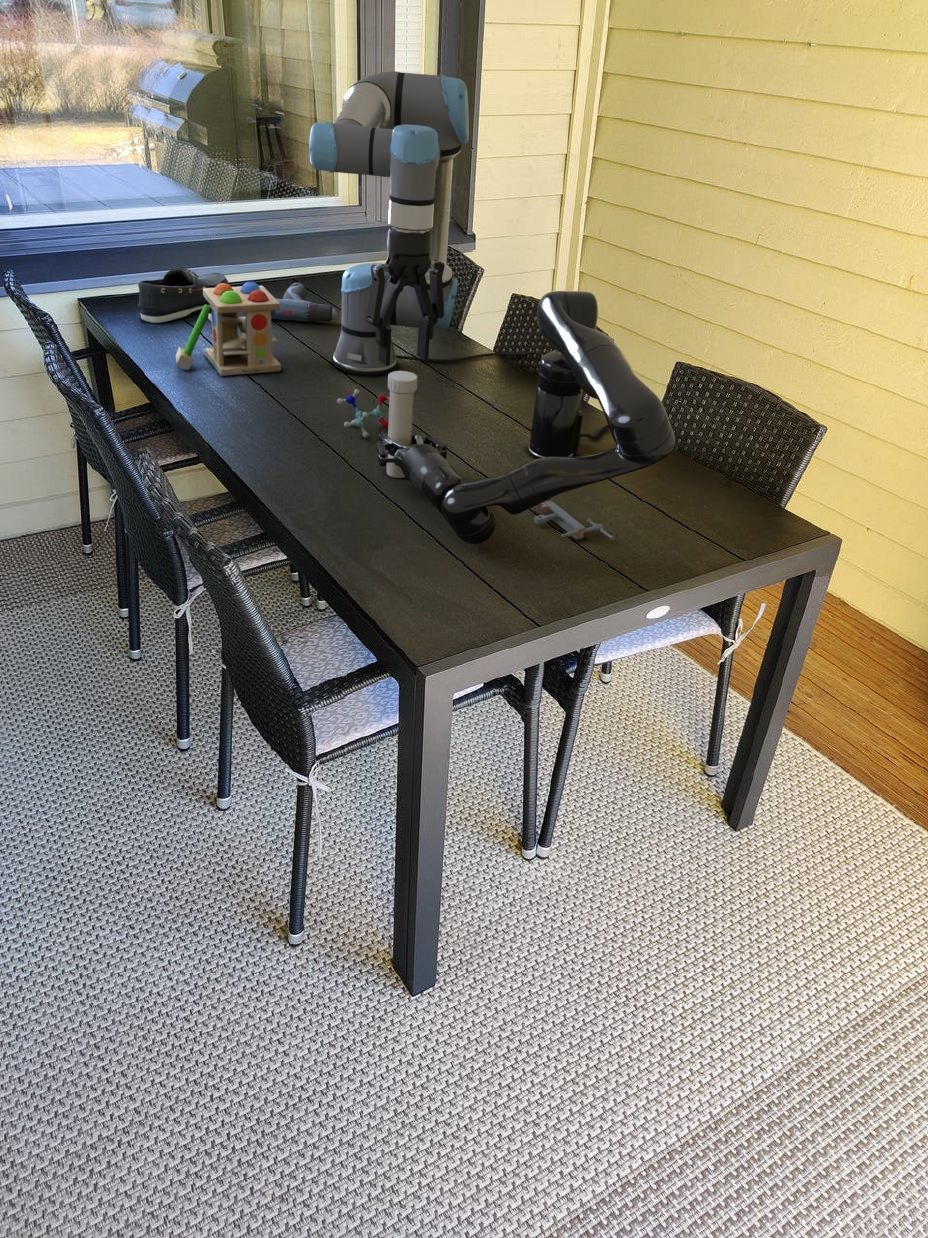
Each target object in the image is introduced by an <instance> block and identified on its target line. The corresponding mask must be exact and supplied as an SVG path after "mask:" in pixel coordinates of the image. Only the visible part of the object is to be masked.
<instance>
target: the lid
mask: <svg viewBox="0 0 928 1238" xmlns="http://www.w3.org/2000/svg"><path fill="white" fill-rule="evenodd" d="M387 389H388V390H389V391H390V390H391V391H393V392H396V393H412V392H414V393H415V392H416V391H417V389H418V375H417V374H416V373H414V372H410V371H406V370H393V371H391V372H389V373H388V376H387Z"/></svg>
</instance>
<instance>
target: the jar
mask: <svg viewBox="0 0 928 1238" xmlns="http://www.w3.org/2000/svg"><path fill="white" fill-rule="evenodd" d="M414 401H415V391H414V392H412V393H396V392H393V391H391V390H389V400H388V420H387V422H388V428H387V435H388V436H389V437H390V438H391V440H393V441H400V442H401V443H403V444H405V445H411V442H412V431H413V425H414V424H413V423H414V422H413V421H414V408H415V407H414V405H415V404H414V403H415V402H414ZM391 449H392V447H391ZM385 468H386V471H385V472H386V474H387V475H388V476H389V477H391V478H394V479H395V478H396V479H403V478H406V477H405V475H404V474H403V472H402V470H401V468H400V467H399V466H396V465H395V464H394V463H386V466H385Z"/></svg>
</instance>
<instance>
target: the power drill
mask: <svg viewBox="0 0 928 1238" xmlns="http://www.w3.org/2000/svg"><path fill="white" fill-rule="evenodd" d="M307 295H308V290H307V287H306V285H304V284H303V283H301V282H293V283H292V284H291V285H290V286H289V287H288V288H287V289H286V291H285V292H284V294H283V297H282V298H275V299H276V300H277V301H278V302H279V303H280V310H271V319H274V320H275V319H276V320H283V321H294V322H295V321H297V322H332V321H333V320H334V319H336V318H337V317H338V312H337V311H336V308H334V307H333V306H332V305H331V304H324V303H317V302H313V301H307V300H305V299H306V297H307Z"/></svg>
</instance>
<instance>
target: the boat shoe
mask: <svg viewBox="0 0 928 1238" xmlns="http://www.w3.org/2000/svg"><path fill="white" fill-rule="evenodd" d="M221 283H226V284H228V285H230V282H229V280H228V279H227V277H226V276H225V274H223V273H220V272H211V273H205V274H201V275H198V274H197V273H195V272H194V271H192V270H190V269H189V268H182V267H180V266H176V267H173V268H171V269H170V270H168V271H167V272H166V273H165V274H164V276H163V277H162V278H158V279H143V280H139V281H138V282H137V285H138V286H137V287H138V293H139V294H138V295H139V296H138V301H139V302H138V303H137V307H139V308H140V319H141V320H143V321H145V322H148V323H152V324H158V323H160V324H161V323H166V322H170V321H173V320H177V319H181V318H184V317H187V316H188V315H190V314H191V313H193V312H196V311H199V310H202V309H203V307H204V305H208V306H210V307H211V305H210V304H209V302H208V301H207V300H206V299H205V297H204V296H203V289H204V288H215V287H216V286H217V285H218V284H221Z"/></svg>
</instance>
